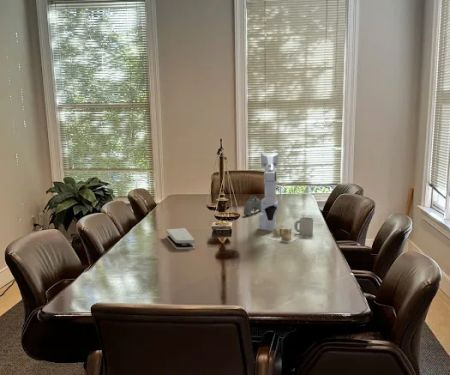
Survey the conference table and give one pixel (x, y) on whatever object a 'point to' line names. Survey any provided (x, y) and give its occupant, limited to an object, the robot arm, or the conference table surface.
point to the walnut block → (277, 231)
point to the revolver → (252, 205)
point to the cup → (304, 226)
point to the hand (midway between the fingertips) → (270, 220)
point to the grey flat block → (180, 238)
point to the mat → (270, 236)
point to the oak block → (286, 234)
